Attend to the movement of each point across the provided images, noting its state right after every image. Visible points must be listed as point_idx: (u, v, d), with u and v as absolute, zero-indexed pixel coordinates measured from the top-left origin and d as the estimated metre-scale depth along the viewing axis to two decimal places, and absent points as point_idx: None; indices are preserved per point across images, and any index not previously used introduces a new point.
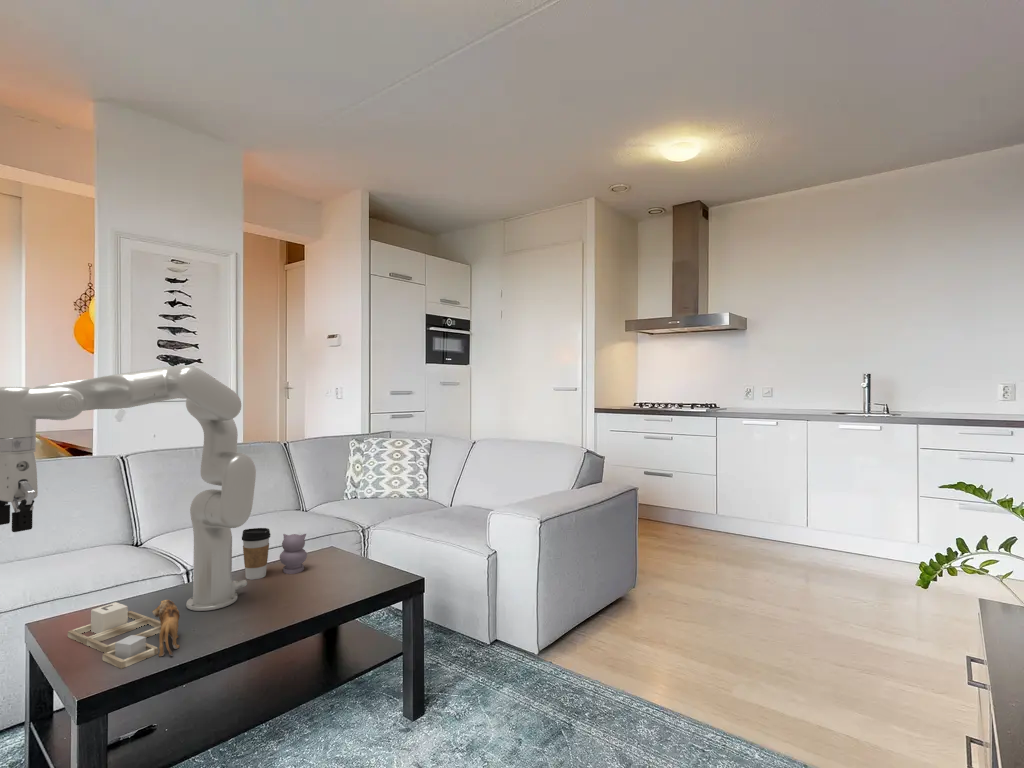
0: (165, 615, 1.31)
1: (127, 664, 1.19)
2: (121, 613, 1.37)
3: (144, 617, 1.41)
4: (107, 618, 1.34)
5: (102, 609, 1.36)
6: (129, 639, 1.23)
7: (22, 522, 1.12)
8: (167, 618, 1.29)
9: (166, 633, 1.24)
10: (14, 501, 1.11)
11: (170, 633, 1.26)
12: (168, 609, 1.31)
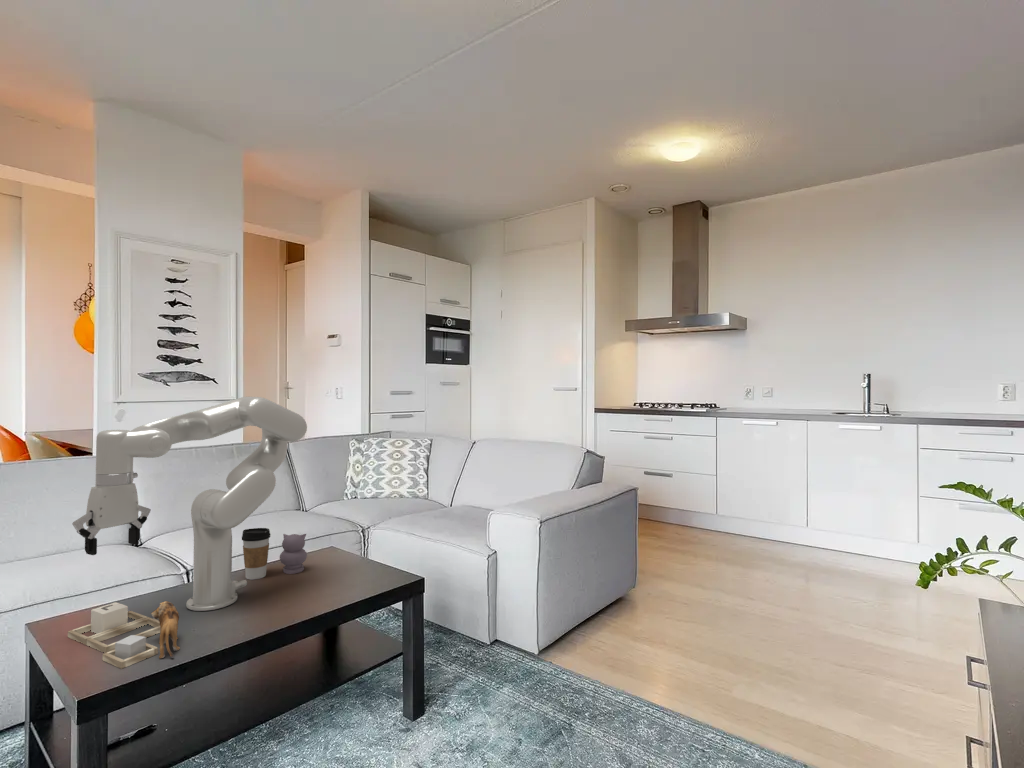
0: (164, 617, 1.30)
1: (127, 664, 1.19)
2: (121, 613, 1.37)
3: (144, 617, 1.41)
4: (107, 618, 1.34)
5: (102, 609, 1.36)
6: (129, 639, 1.23)
7: None
8: (167, 620, 1.28)
9: (166, 635, 1.24)
10: (137, 520, 1.40)
11: (170, 635, 1.25)
12: (168, 611, 1.30)
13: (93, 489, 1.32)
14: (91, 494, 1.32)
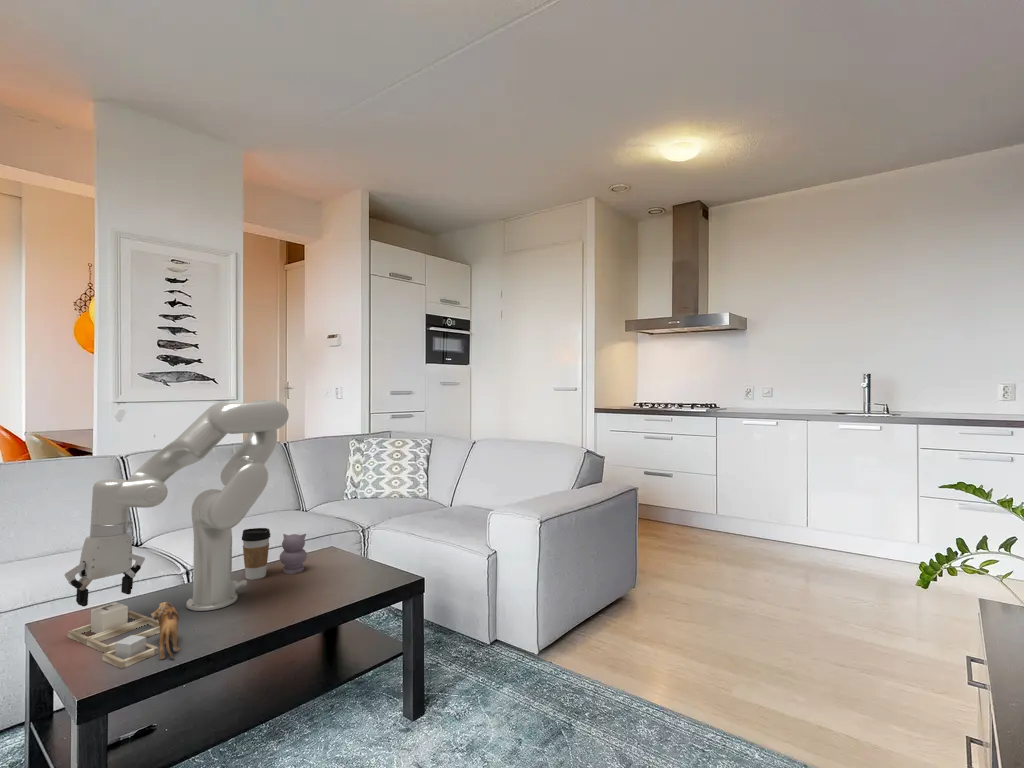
0: (164, 618, 1.29)
1: (127, 664, 1.19)
2: (121, 613, 1.37)
3: (144, 617, 1.41)
4: (107, 618, 1.34)
5: (102, 609, 1.36)
6: (129, 639, 1.23)
7: None
8: (167, 621, 1.28)
9: (167, 636, 1.23)
10: (130, 569, 1.40)
11: (171, 636, 1.24)
12: (167, 612, 1.30)
13: (87, 539, 1.33)
14: (85, 544, 1.33)
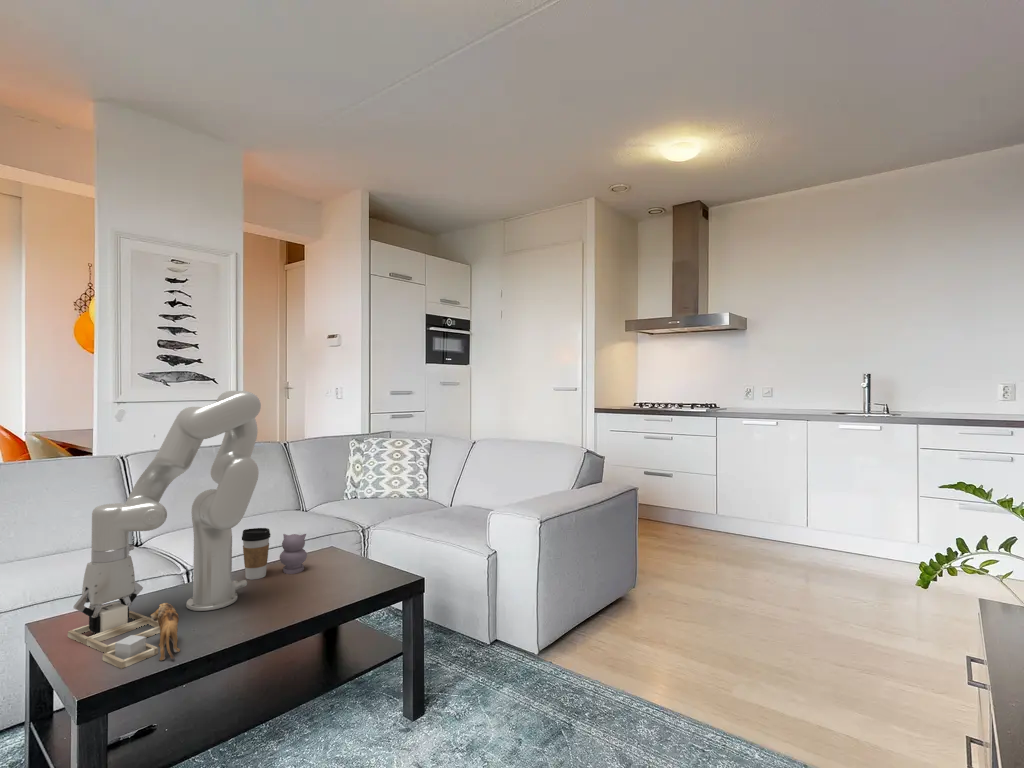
0: (164, 619, 1.29)
1: (127, 664, 1.19)
2: (121, 613, 1.37)
3: (144, 617, 1.41)
4: (107, 617, 1.34)
5: (102, 609, 1.36)
6: (129, 639, 1.23)
7: None
8: (167, 621, 1.27)
9: (167, 637, 1.23)
10: (128, 597, 1.40)
11: (171, 637, 1.24)
12: (167, 613, 1.29)
13: (88, 566, 1.33)
14: (87, 571, 1.33)
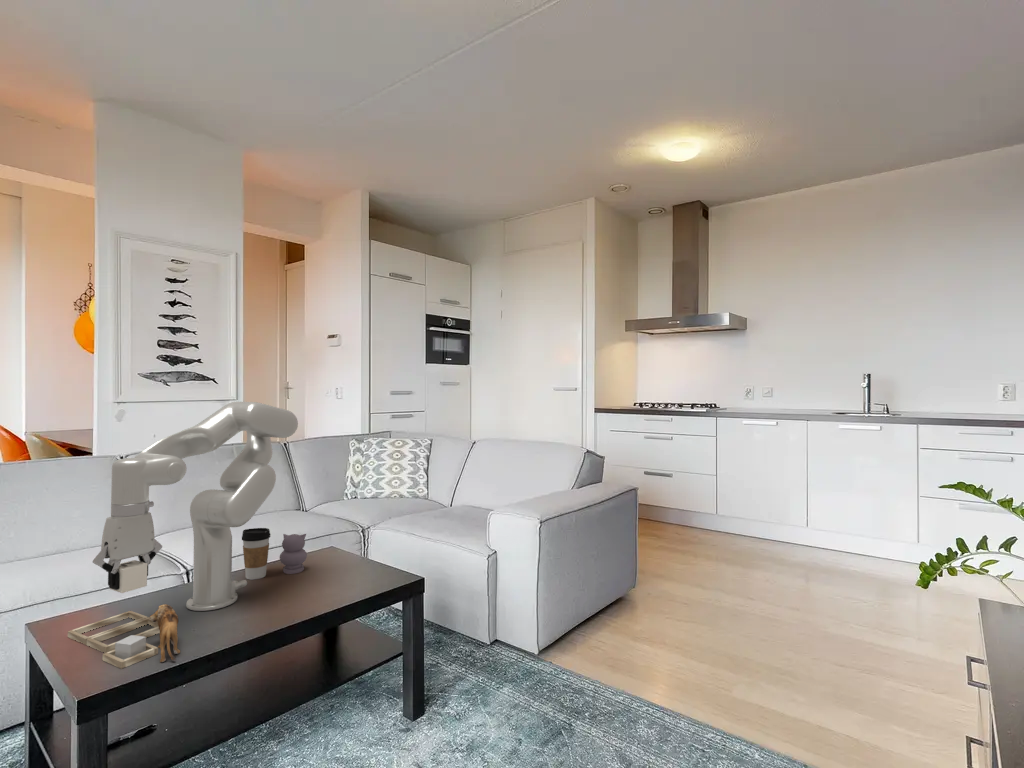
0: (164, 620, 1.28)
1: (127, 664, 1.19)
2: (141, 570, 1.33)
3: (144, 617, 1.41)
4: (126, 573, 1.30)
5: (121, 565, 1.32)
6: (129, 639, 1.23)
7: None
8: (167, 623, 1.27)
9: (168, 638, 1.22)
10: (148, 555, 1.36)
11: (171, 638, 1.23)
12: (167, 614, 1.29)
13: (108, 520, 1.29)
14: (106, 525, 1.29)
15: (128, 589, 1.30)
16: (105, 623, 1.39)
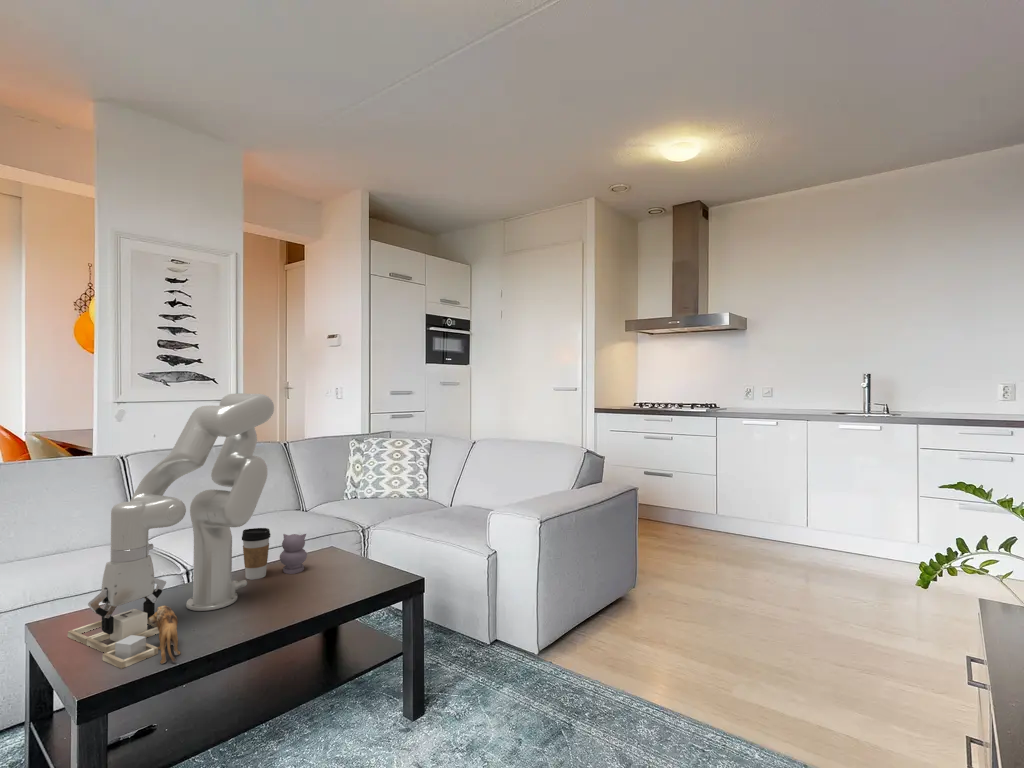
0: (163, 621, 1.27)
1: (127, 664, 1.19)
2: (141, 620, 1.33)
3: None
4: (126, 625, 1.30)
5: (121, 616, 1.32)
6: (129, 639, 1.23)
7: None
8: (166, 624, 1.26)
9: (168, 639, 1.21)
10: (152, 594, 1.36)
11: (172, 639, 1.23)
12: (166, 615, 1.28)
13: (108, 565, 1.29)
14: (106, 570, 1.29)
15: None
16: None
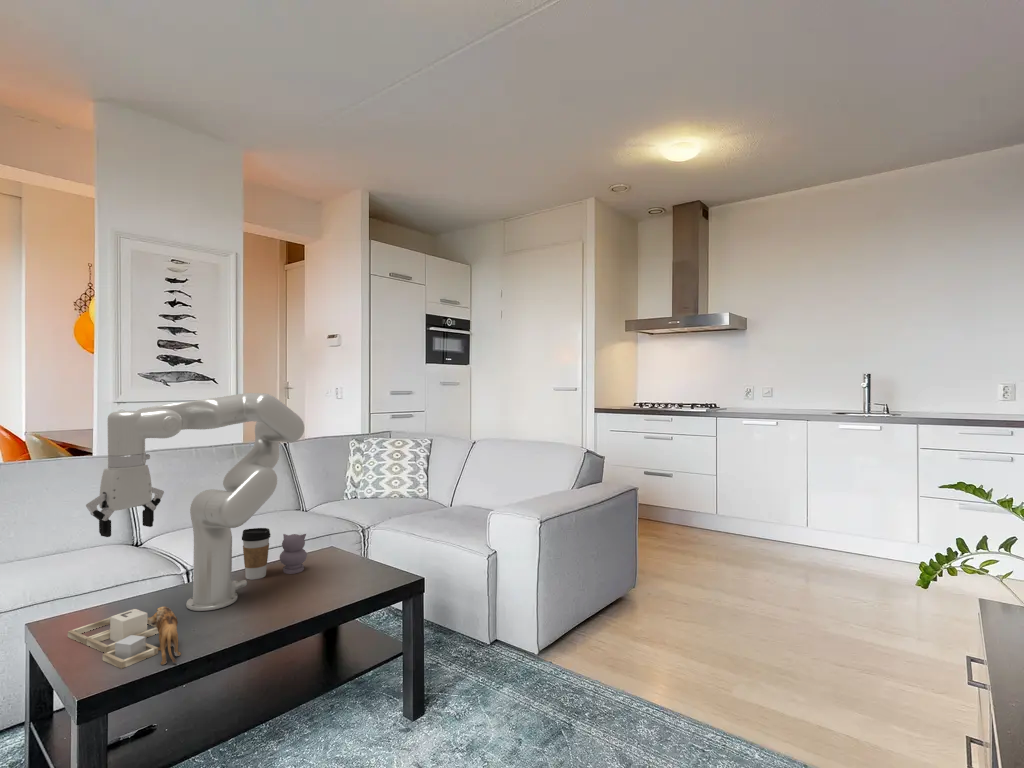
0: (163, 622, 1.27)
1: (127, 664, 1.19)
2: (141, 620, 1.33)
3: None
4: (126, 625, 1.30)
5: (121, 616, 1.32)
6: (129, 639, 1.23)
7: None
8: (166, 625, 1.25)
9: (169, 640, 1.21)
10: (150, 502, 1.38)
11: (172, 640, 1.22)
12: (166, 616, 1.27)
13: (106, 471, 1.31)
14: (104, 476, 1.31)
15: None
16: (105, 623, 1.39)
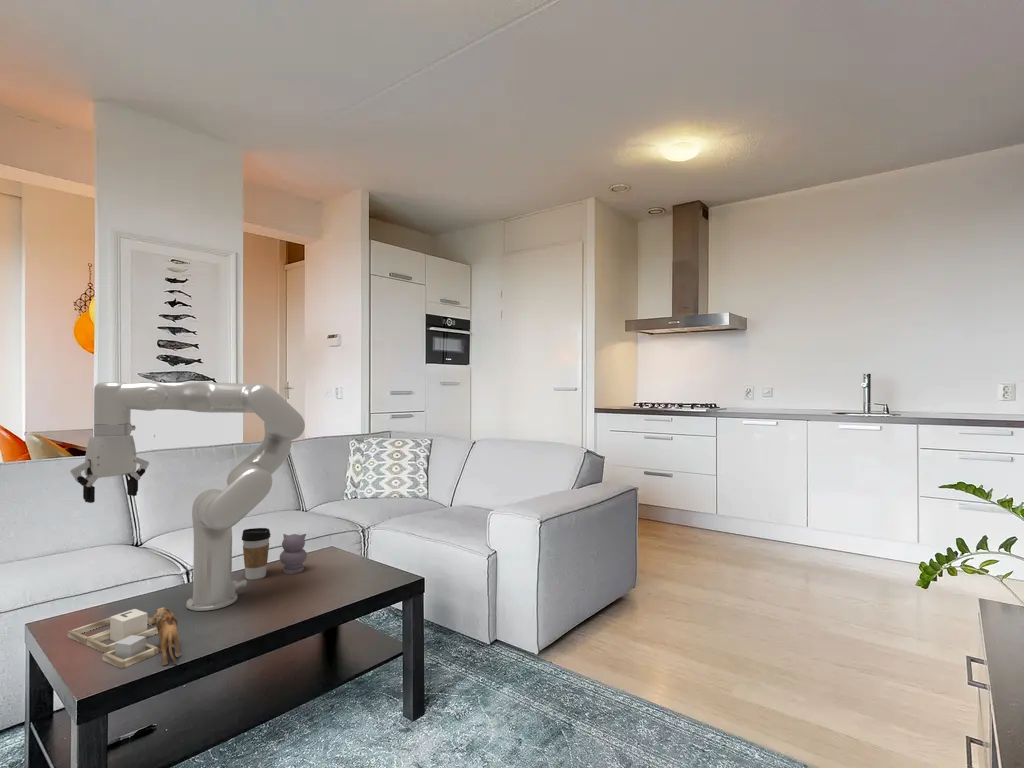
0: (163, 623, 1.26)
1: (127, 664, 1.19)
2: (141, 620, 1.33)
3: None
4: (126, 625, 1.30)
5: (121, 616, 1.32)
6: (129, 639, 1.23)
7: None
8: (167, 626, 1.25)
9: (170, 641, 1.21)
10: (135, 472, 1.42)
11: (173, 641, 1.22)
12: (166, 617, 1.27)
13: (91, 439, 1.35)
14: (89, 443, 1.35)
15: None
16: (105, 623, 1.39)
